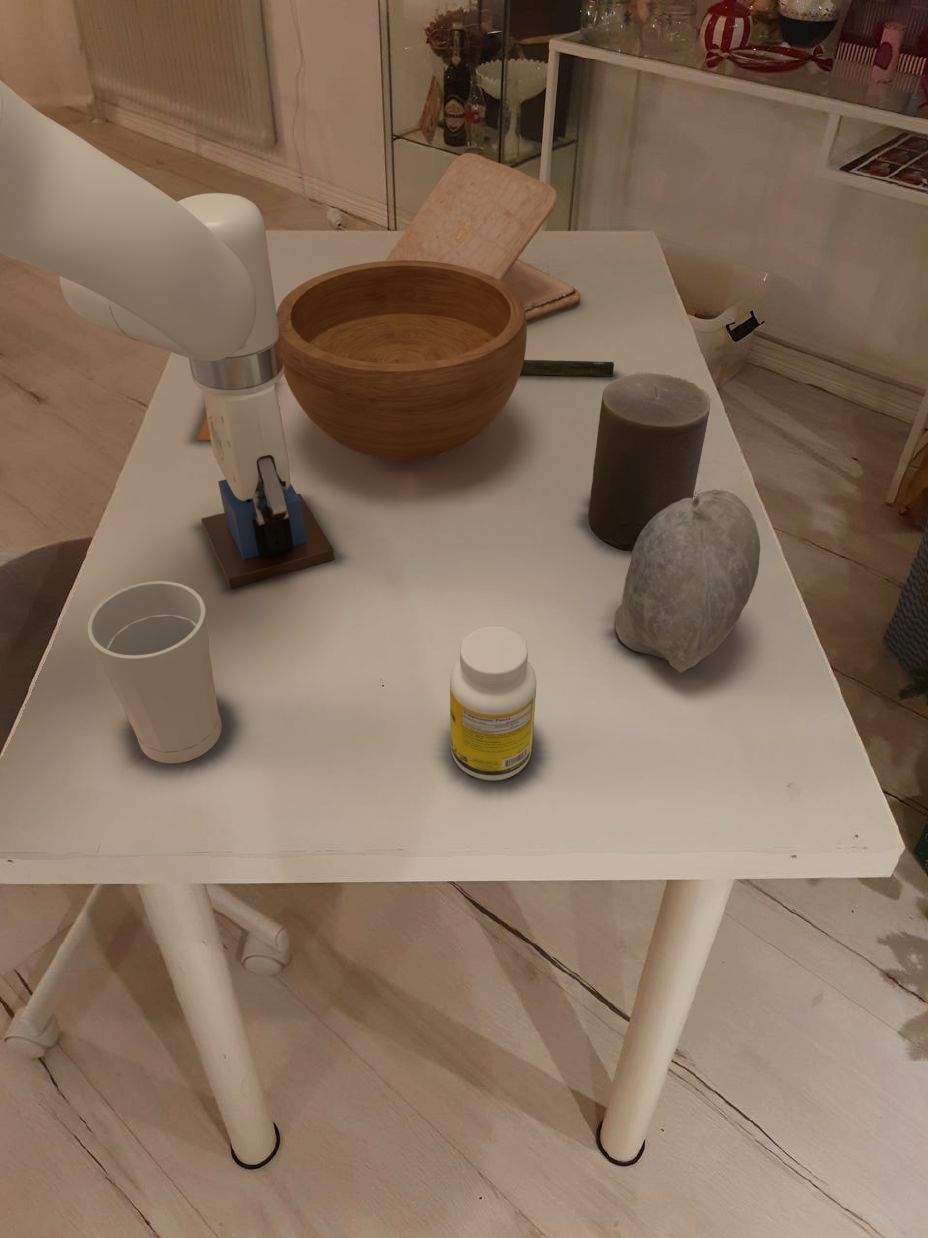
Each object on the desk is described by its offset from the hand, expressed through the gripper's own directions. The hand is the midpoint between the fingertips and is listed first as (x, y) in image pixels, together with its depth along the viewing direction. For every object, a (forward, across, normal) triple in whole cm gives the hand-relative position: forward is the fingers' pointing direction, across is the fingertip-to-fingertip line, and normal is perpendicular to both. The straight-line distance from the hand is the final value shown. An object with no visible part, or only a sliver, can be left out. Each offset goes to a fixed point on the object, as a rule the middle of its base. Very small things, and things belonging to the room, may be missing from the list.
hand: (265, 530), depth 92 cm
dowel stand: (+2, 0, 0) cm, 2 cm away
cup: (+2, +20, -13) cm, 24 cm away
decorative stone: (+2, +27, +28) cm, 39 cm away
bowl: (+2, -11, +19) cm, 22 cm away
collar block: (0, 0, 0) cm, 0 cm away
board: (+2, -25, +4) cm, 25 cm away
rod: (+2, -21, +33) cm, 39 cm away
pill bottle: (+2, +32, +8) cm, 33 cm away
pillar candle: (+2, +12, +34) cm, 36 cm away
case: (+2, -40, +42) cm, 58 cm away
